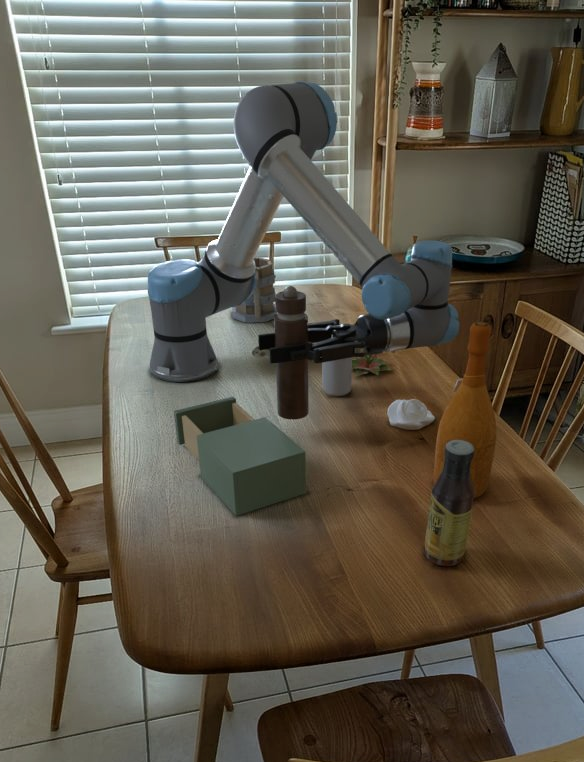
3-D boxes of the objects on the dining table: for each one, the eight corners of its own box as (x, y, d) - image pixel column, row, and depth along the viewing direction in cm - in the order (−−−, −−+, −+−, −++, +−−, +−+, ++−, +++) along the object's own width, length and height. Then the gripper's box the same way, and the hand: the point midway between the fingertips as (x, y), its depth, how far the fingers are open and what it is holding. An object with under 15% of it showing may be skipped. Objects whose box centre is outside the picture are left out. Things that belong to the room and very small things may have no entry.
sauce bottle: (420, 544, 115) (431, 433, 103) (459, 543, 115) (475, 432, 104) (428, 571, 109) (441, 457, 98) (468, 569, 110) (486, 455, 99)
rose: (388, 388, 151) (434, 390, 151) (386, 408, 154) (433, 409, 154) (388, 410, 143) (437, 412, 143) (387, 430, 146) (435, 432, 145)
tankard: (231, 307, 204) (228, 252, 195) (277, 306, 205) (275, 251, 196) (231, 333, 187) (227, 274, 179) (280, 332, 189) (278, 274, 180)
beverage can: (348, 399, 157) (349, 346, 150) (319, 396, 158) (319, 343, 151) (353, 387, 162) (355, 335, 155) (325, 384, 163) (325, 332, 156)
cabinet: (200, 476, 130) (196, 435, 126) (267, 457, 136) (265, 416, 132) (235, 516, 120) (232, 473, 116) (305, 493, 126) (305, 451, 122)
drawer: (174, 439, 139) (171, 408, 136) (232, 424, 145) (230, 393, 141) (206, 474, 129) (202, 441, 125) (267, 456, 135) (265, 424, 131)
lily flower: (401, 374, 168) (403, 356, 165) (353, 382, 164) (354, 363, 162) (380, 355, 177) (381, 337, 174) (334, 361, 173) (334, 343, 171)
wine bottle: (492, 478, 131) (518, 316, 114) (482, 507, 124) (509, 338, 107) (438, 468, 134) (456, 309, 117) (426, 496, 126) (443, 329, 109)
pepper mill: (272, 410, 141) (266, 284, 127) (298, 403, 144) (296, 279, 130) (287, 422, 137) (283, 293, 123) (314, 414, 140) (313, 288, 126)
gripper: (401, 370, 133) (282, 389, 126) (360, 334, 148) (250, 349, 140) (404, 330, 129) (280, 348, 122) (361, 298, 144) (248, 311, 136)
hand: (264, 349), depth 131 cm, fingers closed on pepper mill, 6 cm apart
